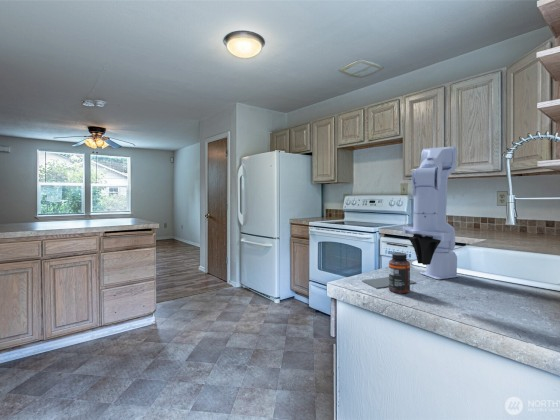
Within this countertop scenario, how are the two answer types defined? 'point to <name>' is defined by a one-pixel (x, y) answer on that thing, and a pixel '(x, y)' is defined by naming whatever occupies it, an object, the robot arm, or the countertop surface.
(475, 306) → the countertop surface
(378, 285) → the mat
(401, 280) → the supplement bottle
